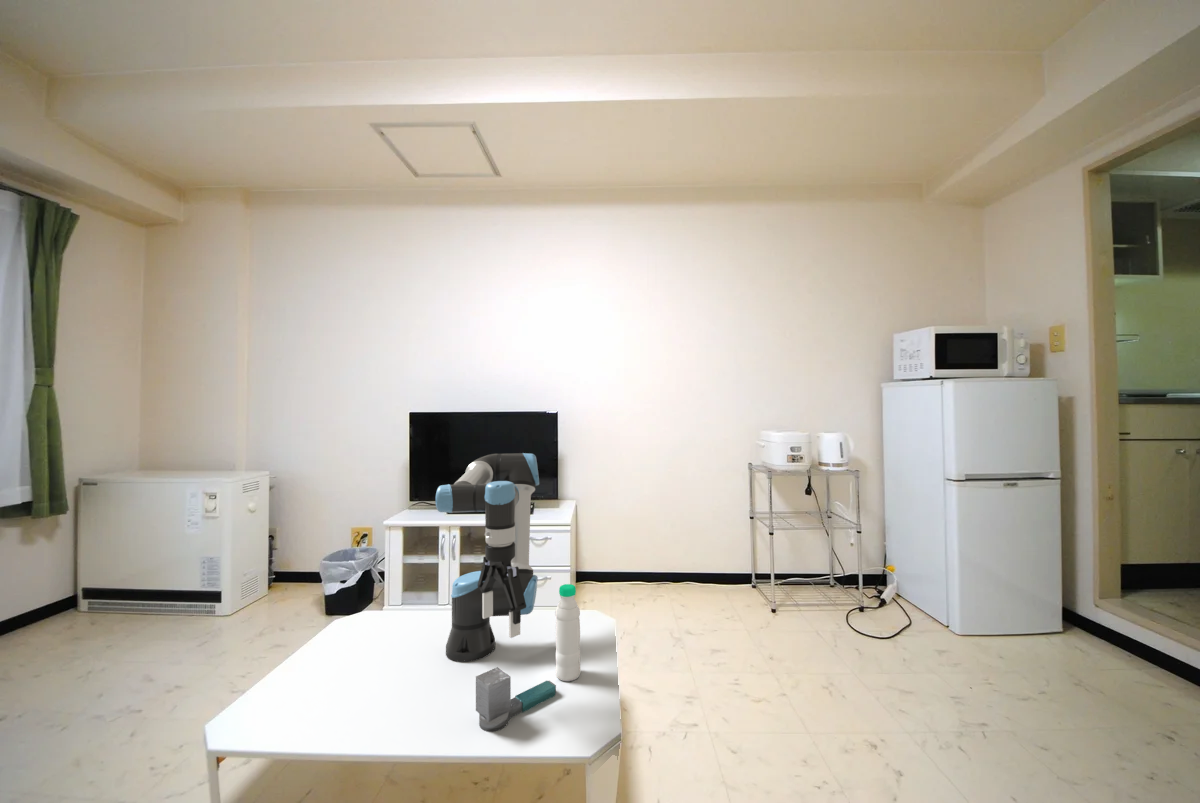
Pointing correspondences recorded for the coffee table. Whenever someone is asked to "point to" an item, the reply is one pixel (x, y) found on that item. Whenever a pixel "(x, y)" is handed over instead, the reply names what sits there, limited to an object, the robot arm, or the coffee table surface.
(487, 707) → the grey metal block
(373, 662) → the coffee table surface
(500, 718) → the ratchet
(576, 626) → the water bottle
